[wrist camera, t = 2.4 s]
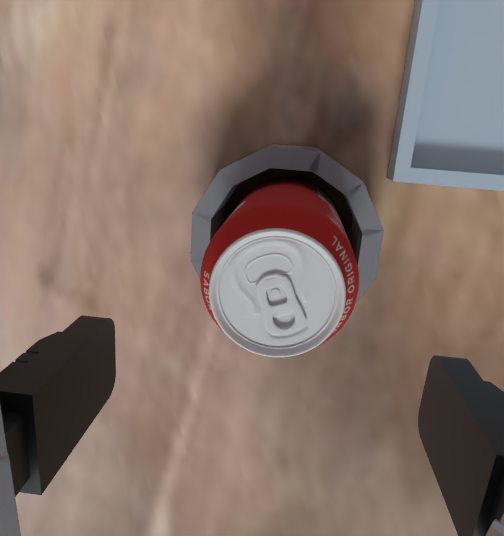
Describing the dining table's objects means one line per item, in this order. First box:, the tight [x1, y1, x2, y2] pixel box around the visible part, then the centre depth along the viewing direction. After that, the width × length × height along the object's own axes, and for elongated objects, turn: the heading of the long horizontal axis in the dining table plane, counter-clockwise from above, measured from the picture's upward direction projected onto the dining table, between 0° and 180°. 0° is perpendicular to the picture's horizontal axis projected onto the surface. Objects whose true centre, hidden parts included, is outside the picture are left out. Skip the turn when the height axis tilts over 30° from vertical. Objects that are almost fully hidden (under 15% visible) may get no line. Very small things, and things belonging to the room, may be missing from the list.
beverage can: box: [200, 178, 359, 357], centre depth 22 cm, size 6×6×12 cm
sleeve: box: [191, 144, 383, 303], centre depth 26 cm, size 10×10×4 cm
